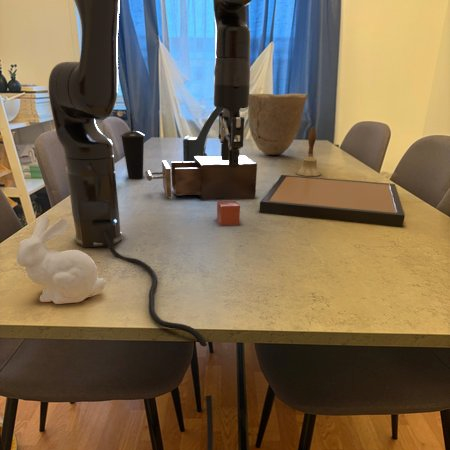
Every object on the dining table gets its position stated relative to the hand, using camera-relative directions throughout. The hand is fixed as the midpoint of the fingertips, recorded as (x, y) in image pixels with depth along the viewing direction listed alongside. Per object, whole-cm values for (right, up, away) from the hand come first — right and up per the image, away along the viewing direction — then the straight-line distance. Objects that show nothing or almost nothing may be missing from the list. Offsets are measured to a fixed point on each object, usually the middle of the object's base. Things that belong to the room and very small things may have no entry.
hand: (229, 163), depth 98 cm
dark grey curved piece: (-8, +22, +70) cm, 74 cm away
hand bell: (+29, +15, +59) cm, 68 cm away
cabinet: (-1, +1, +31) cm, 31 cm away
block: (0, -12, +6) cm, 14 cm away
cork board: (+30, -3, +26) cm, 39 cm away
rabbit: (-27, -30, -29) cm, 50 cm away
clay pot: (+21, +34, +94) cm, 102 cm away
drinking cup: (-31, +10, +47) cm, 57 cm away
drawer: (-14, 0, +28) cm, 31 cm away
